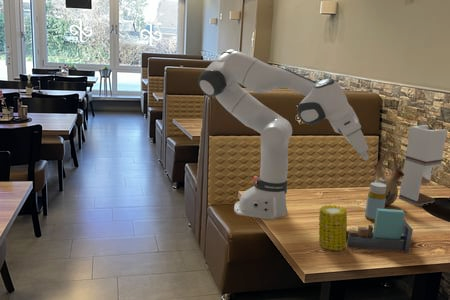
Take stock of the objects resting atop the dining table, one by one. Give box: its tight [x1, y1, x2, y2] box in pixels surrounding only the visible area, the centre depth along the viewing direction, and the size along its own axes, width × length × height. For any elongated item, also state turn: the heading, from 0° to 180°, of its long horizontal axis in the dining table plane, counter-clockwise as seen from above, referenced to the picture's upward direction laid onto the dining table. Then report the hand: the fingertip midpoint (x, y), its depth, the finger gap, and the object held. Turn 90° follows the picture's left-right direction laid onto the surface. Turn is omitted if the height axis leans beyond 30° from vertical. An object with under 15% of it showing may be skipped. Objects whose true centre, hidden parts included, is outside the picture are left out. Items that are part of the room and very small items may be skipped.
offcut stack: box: [347, 224, 374, 240], centre depth 155 cm, size 8×2×8 cm, turn 87°
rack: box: [346, 220, 414, 254], centre depth 154 cm, size 21×8×9 cm, turn 87°
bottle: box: [364, 181, 386, 222], centre depth 178 cm, size 7×7×15 cm
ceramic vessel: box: [372, 150, 404, 207], centre depth 194 cm, size 16×9×25 cm, turn 30°
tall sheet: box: [373, 208, 405, 239], centre depth 153 cm, size 9×2×14 cm, turn 87°
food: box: [318, 204, 348, 252], centre depth 152 cm, size 15×12×10 cm
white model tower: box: [398, 124, 448, 207], centre depth 200 cm, size 11×11×35 cm
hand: (362, 154), depth 151 cm, fingers open, 8 cm apart
